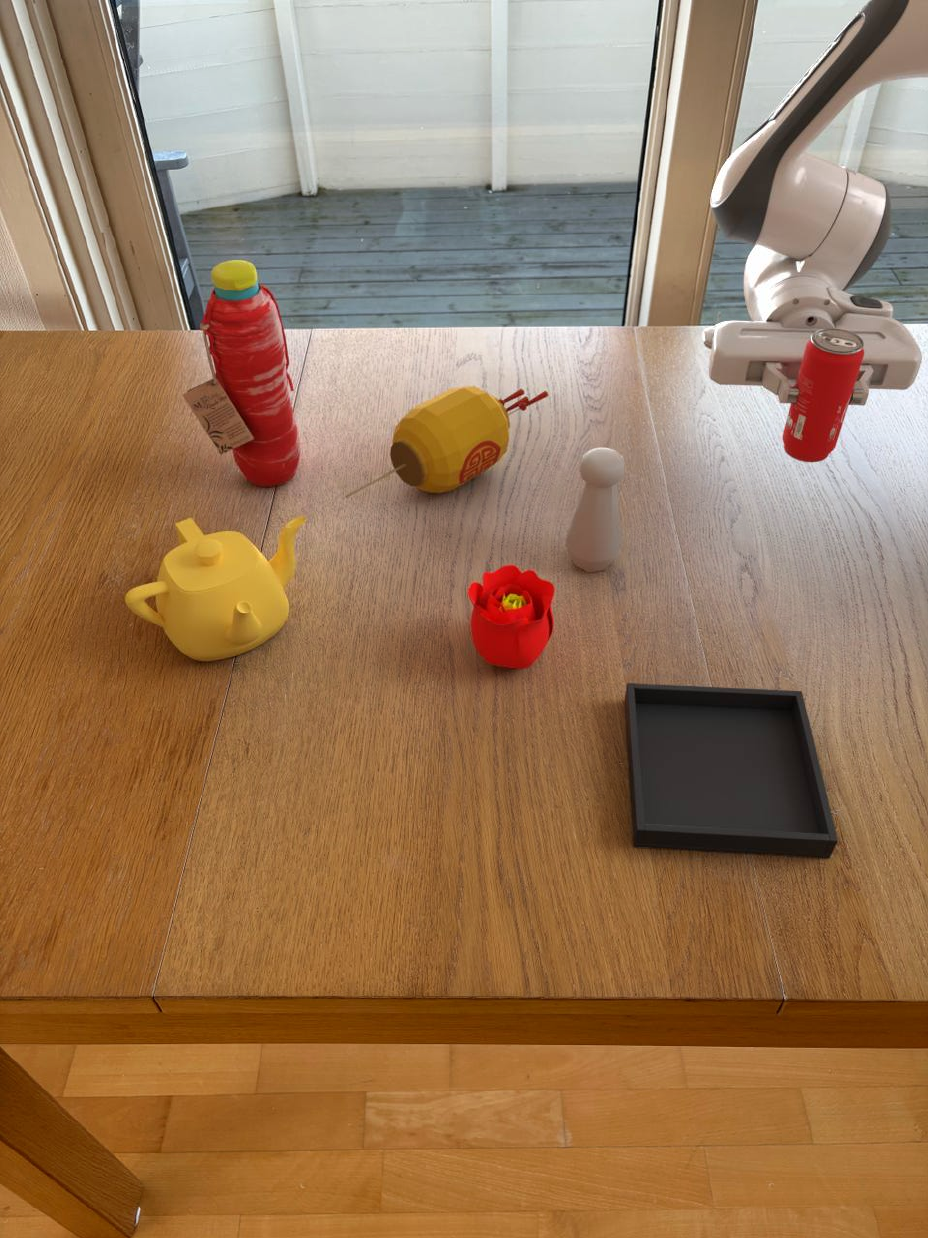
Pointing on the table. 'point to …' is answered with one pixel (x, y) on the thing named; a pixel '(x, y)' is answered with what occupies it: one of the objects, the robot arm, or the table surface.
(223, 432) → the water bottle
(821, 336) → the beverage can
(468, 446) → the lantern
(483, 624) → the flower
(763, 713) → the tray
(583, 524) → the salt shaker
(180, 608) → the teapot
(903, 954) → the table surface
